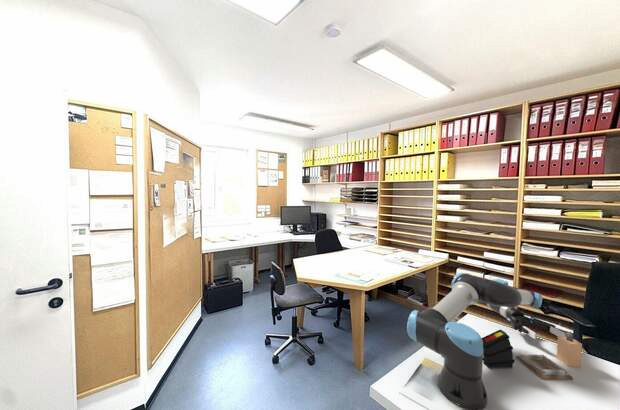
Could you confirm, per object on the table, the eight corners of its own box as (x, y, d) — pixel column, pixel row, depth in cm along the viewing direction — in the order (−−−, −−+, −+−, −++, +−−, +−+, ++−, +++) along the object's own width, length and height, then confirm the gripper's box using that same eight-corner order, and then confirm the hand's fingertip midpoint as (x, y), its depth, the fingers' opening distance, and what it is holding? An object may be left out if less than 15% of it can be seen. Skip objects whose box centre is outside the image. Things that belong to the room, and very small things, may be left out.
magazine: (521, 364, 99) (508, 333, 98) (493, 378, 99) (479, 347, 98) (513, 358, 103) (500, 328, 102) (486, 371, 103) (473, 341, 102)
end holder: (541, 379, 94) (542, 373, 94) (515, 358, 106) (516, 352, 106) (572, 379, 94) (572, 373, 94) (543, 358, 106) (543, 353, 106)
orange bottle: (568, 366, 101) (570, 336, 101) (556, 358, 106) (558, 330, 106) (580, 366, 101) (582, 336, 101) (567, 358, 106) (569, 330, 106)
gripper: (534, 321, 133) (576, 344, 112) (489, 320, 133) (523, 343, 112) (534, 307, 133) (577, 329, 112) (490, 307, 133) (524, 328, 112)
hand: (550, 336), depth 112 cm, fingers open, 13 cm apart
